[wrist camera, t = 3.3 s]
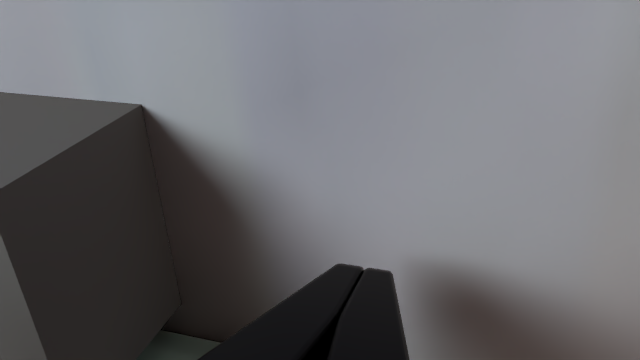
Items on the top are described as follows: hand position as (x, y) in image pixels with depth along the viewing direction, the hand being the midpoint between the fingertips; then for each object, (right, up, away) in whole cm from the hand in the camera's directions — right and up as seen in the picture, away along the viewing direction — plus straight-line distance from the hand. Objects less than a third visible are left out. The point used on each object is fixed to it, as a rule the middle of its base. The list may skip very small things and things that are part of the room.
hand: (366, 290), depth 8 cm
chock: (-6, +1, +3) cm, 7 cm away
